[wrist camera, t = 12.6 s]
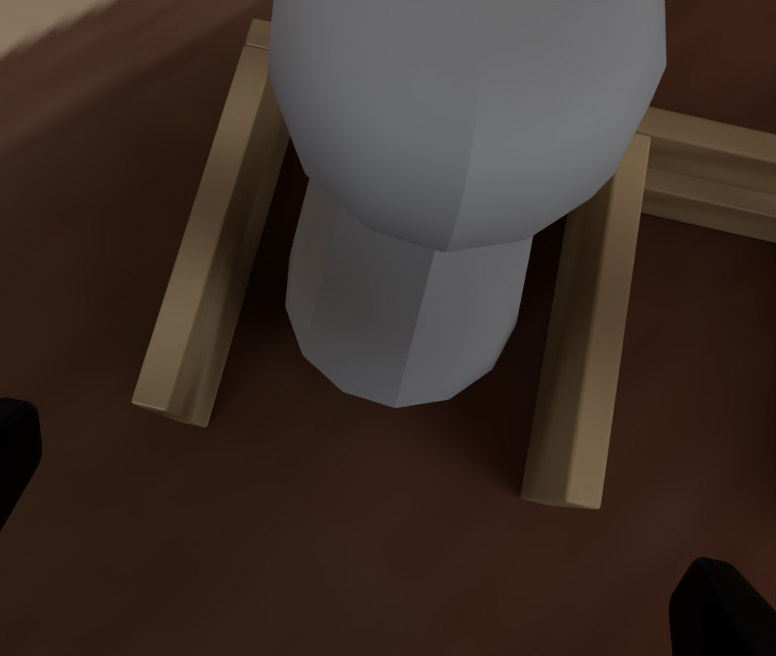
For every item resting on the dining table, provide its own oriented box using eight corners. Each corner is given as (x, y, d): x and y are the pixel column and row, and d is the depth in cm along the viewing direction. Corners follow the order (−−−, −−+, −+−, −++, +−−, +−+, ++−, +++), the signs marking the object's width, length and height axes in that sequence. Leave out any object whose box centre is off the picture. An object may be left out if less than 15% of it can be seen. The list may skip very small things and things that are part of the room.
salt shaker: (251, 318, 19) (32, -38, 6) (389, 183, 20) (446, -355, 7) (405, 462, 18) (522, 396, 5) (539, 312, 19) (895, -33, 6)
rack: (891, 583, 18) (1040, 609, 14) (178, 421, 18) (128, 403, 14) (902, 247, 20) (1032, 190, 16) (271, 106, 20) (252, 16, 16)
